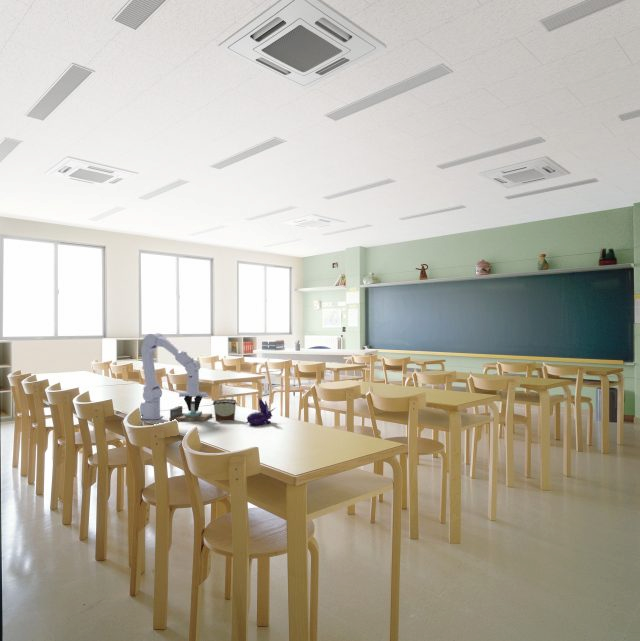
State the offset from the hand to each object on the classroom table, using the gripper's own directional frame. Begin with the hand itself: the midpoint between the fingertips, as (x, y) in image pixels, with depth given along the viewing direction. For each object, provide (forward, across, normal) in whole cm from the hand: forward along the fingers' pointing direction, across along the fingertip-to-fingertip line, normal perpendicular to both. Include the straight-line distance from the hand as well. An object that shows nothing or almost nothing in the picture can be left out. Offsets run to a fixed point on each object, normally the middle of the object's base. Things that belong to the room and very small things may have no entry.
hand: (193, 410), depth 250 cm
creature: (+4, -38, +8) cm, 39 cm away
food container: (+4, -18, 0) cm, 18 cm away
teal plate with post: (+2, 0, 0) cm, 2 cm away
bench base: (+4, +1, 0) cm, 4 cm away
